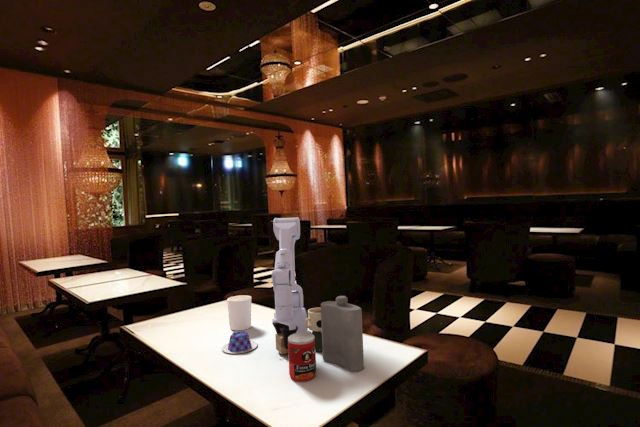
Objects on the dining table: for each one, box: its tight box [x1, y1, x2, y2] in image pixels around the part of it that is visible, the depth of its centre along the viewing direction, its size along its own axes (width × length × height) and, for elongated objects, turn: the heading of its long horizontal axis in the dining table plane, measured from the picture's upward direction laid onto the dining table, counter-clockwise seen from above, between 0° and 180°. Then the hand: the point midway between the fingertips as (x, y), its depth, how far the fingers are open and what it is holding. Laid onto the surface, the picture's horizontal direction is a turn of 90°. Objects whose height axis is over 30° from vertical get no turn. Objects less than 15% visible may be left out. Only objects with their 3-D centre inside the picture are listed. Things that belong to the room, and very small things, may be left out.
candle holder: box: [226, 294, 253, 332], centre depth 147 cm, size 10×10×12 cm
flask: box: [320, 295, 365, 373], centre depth 109 cm, size 15×6×20 cm, turn 44°
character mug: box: [305, 306, 323, 351], centre depth 121 cm, size 11×7×13 cm, turn 128°
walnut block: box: [275, 333, 288, 355], centre depth 119 cm, size 5×5×5 cm
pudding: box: [221, 330, 258, 354], centre depth 125 cm, size 12×12×5 cm
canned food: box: [287, 332, 317, 383], centre depth 102 cm, size 8×8×11 cm
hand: (285, 345), depth 119 cm, fingers closed on walnut block, 5 cm apart
